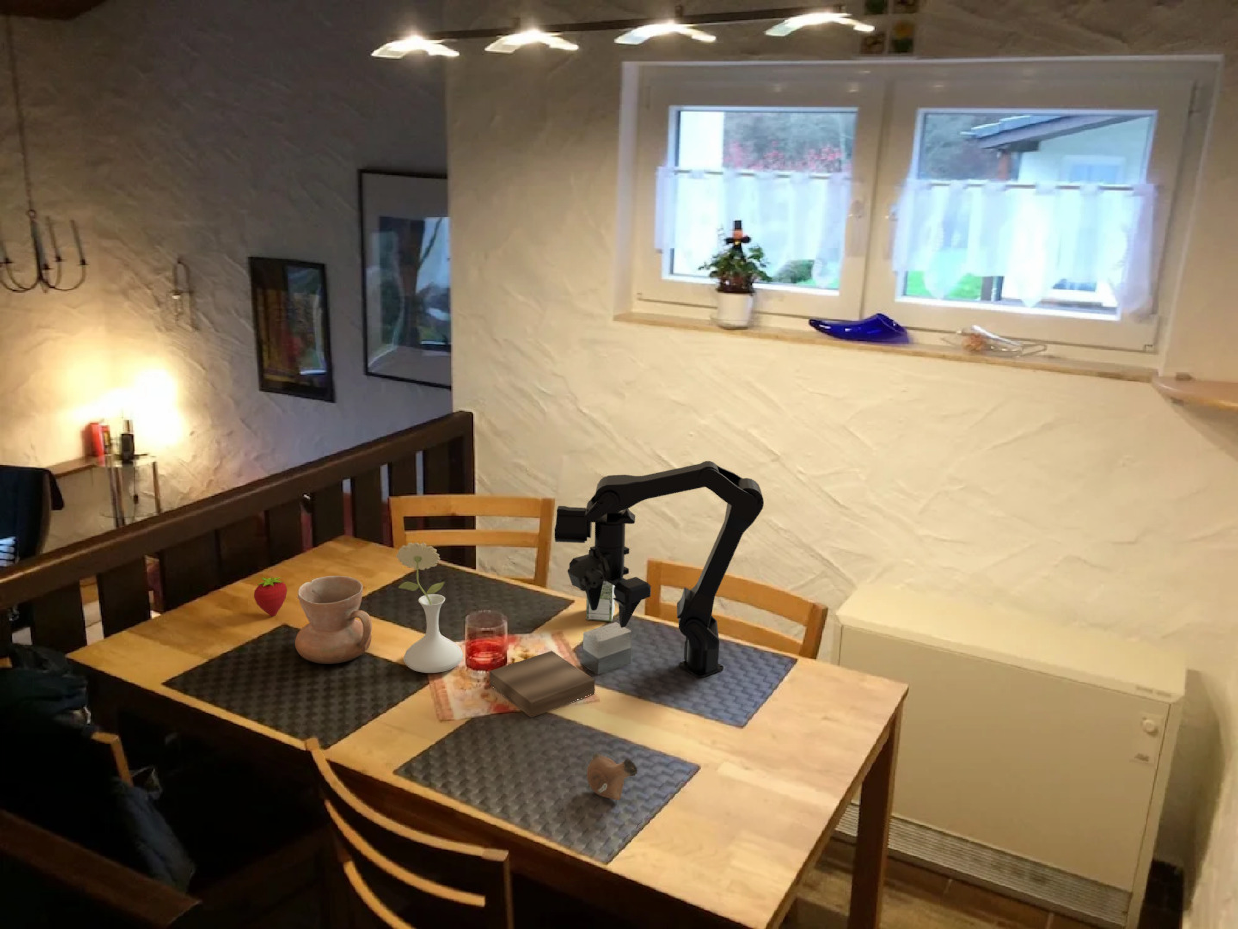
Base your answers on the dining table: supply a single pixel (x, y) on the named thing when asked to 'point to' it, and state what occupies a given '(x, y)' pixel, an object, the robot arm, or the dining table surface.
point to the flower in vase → (428, 617)
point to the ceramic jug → (333, 620)
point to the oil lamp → (609, 775)
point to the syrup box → (603, 605)
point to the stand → (541, 683)
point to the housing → (607, 648)
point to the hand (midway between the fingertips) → (608, 618)
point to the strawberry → (270, 595)
